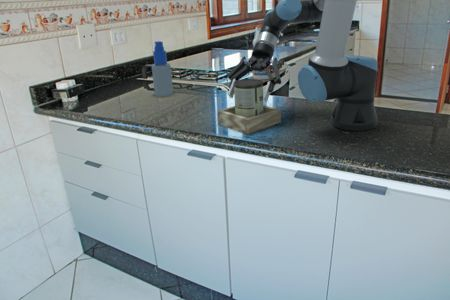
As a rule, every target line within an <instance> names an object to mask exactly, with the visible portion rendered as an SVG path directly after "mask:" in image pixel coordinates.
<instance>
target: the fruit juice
mask: <svg viewBox="0 0 450 300" xmlns="http://www.w3.org/2000/svg"><path fill="white" fill-rule="evenodd" d="M261 26H262V24H258V25H256V32H255V36H254V38H253V40H252V46H253V48H254V46H255V43H256V40H257V37H258V35H259V32H260V29H261ZM267 68H268V69H269V71H270V72H271V64H270V65H269V66H268V67H267ZM252 79H257V80H262V81H265V80H270V79H269V77H268V75H267V73H266V72H265V70H262V71H254V70H253V71H252Z"/></svg>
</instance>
